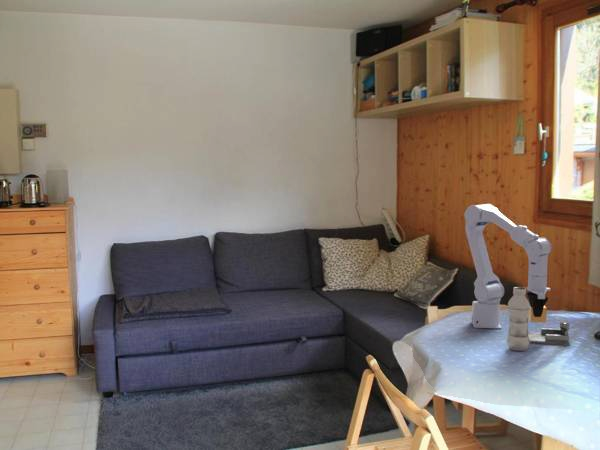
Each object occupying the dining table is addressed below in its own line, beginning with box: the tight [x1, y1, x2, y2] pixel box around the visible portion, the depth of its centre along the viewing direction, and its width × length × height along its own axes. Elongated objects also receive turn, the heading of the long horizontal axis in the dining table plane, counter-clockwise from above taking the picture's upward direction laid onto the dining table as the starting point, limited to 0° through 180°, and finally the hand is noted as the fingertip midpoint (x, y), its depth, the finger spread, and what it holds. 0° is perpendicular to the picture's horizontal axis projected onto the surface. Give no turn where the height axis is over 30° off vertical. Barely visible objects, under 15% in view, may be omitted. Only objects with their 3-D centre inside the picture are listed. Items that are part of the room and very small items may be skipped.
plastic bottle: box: [506, 286, 531, 352], centre depth 179 cm, size 6×7×20 cm
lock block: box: [528, 304, 548, 323], centre depth 189 cm, size 5×4×5 cm
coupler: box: [528, 321, 571, 346], centre depth 189 cm, size 13×10×6 cm
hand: (536, 314), depth 189 cm, fingers closed on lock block, 4 cm apart
